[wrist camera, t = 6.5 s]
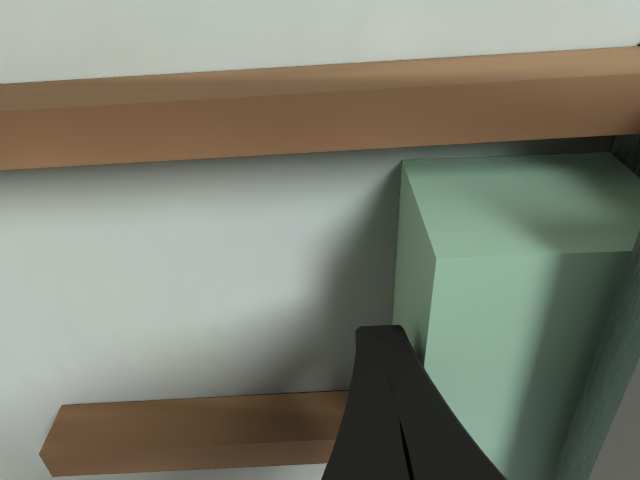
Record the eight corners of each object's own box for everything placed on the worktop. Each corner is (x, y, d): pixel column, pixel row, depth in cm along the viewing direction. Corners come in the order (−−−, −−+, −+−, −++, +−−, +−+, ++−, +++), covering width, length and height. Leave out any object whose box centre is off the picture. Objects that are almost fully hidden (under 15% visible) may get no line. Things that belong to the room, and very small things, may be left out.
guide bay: (597, 402, 18) (699, 585, 13) (74, 429, 18) (-6, 617, 13) (737, 35, 11) (1051, 143, 6) (-102, 85, 11) (-392, 225, 7)
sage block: (541, 377, 17) (597, 495, 14) (388, 383, 17) (408, 503, 14) (610, 152, 12) (719, 247, 9) (402, 160, 12) (436, 258, 9)
